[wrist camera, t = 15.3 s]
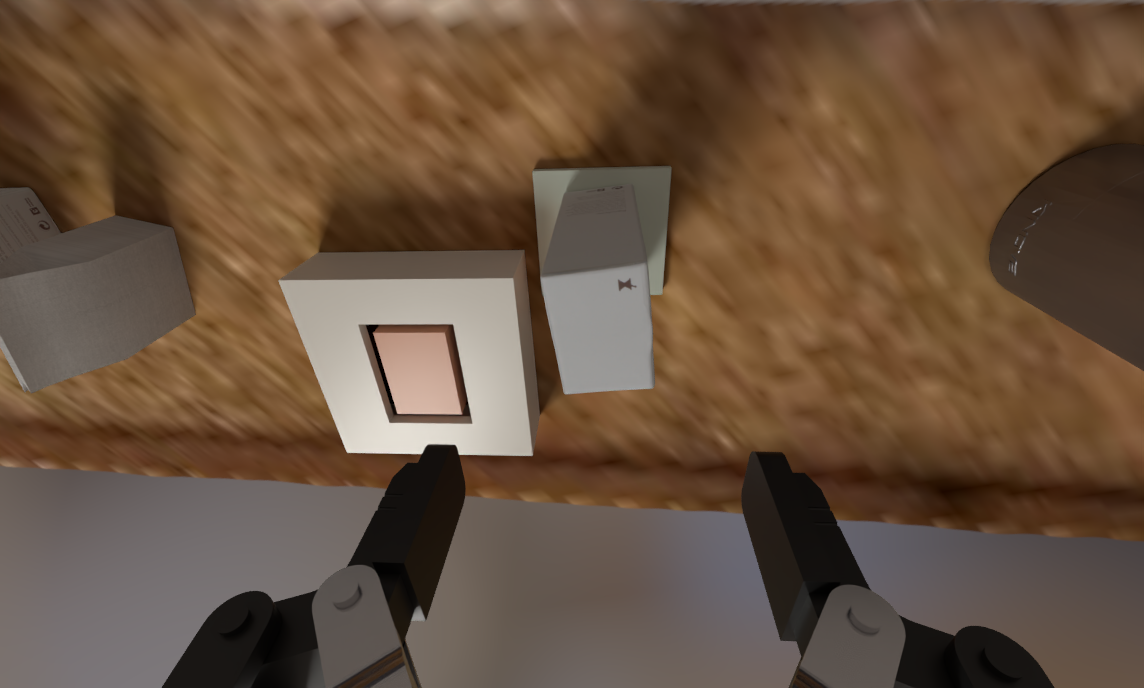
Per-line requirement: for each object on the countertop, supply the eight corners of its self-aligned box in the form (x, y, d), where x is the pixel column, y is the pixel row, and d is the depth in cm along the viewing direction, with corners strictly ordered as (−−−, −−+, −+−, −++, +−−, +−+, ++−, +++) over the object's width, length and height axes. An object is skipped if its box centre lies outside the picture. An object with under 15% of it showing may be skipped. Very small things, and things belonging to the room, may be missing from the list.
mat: (670, 165, 27) (671, 167, 27) (661, 291, 31) (662, 294, 31) (533, 169, 28) (532, 171, 27) (542, 291, 32) (541, 295, 31)
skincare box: (561, 191, 28) (536, 271, 18) (633, 181, 27) (651, 258, 17) (575, 284, 31) (561, 398, 21) (640, 277, 30) (659, 390, 20)
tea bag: (173, 227, 31) (11, 293, 23) (195, 314, 35) (63, 399, 26) (116, 215, 31) (-69, 277, 22) (144, 304, 34) (-6, 386, 26)
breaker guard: (524, 249, 30) (513, 278, 27) (539, 415, 38) (532, 455, 34) (317, 252, 31) (278, 280, 28) (372, 413, 39) (347, 452, 35)
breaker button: (460, 304, 32) (444, 332, 29) (474, 381, 36) (461, 414, 32) (395, 305, 32) (373, 332, 29) (415, 381, 36) (397, 413, 33)
